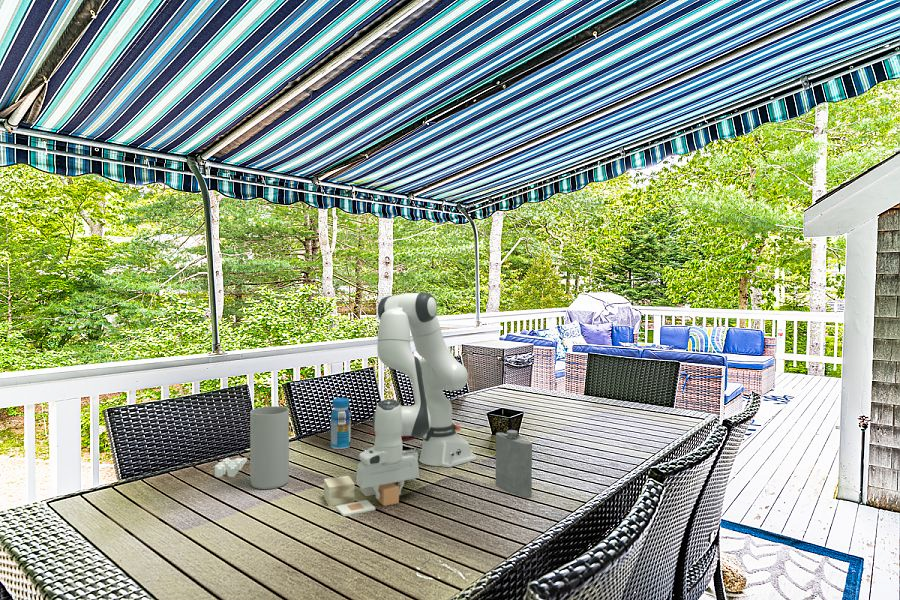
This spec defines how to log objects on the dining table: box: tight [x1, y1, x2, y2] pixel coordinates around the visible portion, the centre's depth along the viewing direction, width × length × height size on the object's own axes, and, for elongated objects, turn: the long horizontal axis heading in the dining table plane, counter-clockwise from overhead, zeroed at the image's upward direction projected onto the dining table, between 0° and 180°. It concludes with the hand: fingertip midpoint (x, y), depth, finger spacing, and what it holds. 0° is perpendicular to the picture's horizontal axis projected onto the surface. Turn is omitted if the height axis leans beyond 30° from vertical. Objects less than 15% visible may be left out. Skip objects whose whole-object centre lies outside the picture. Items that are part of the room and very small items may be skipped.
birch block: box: [323, 475, 356, 507], centre depth 176 cm, size 8×8×6 cm
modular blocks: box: [214, 457, 248, 478], centre depth 205 cm, size 20×7×4 cm, turn 4°
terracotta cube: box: [377, 482, 400, 507], centre depth 174 cm, size 5×5×5 cm
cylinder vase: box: [249, 406, 290, 490], centre depth 189 cm, size 12×12×25 cm
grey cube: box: [359, 487, 378, 497], centre depth 182 cm, size 5×5×5 cm
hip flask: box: [495, 429, 533, 499], centre depth 185 cm, size 16×4×20 cm, turn 37°
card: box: [335, 499, 376, 517], centre depth 168 cm, size 10×7×1 cm
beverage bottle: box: [329, 397, 352, 450], centre depth 232 cm, size 8×8×20 cm
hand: (388, 496), depth 174 cm, fingers closed on terracotta cube, 5 cm apart
